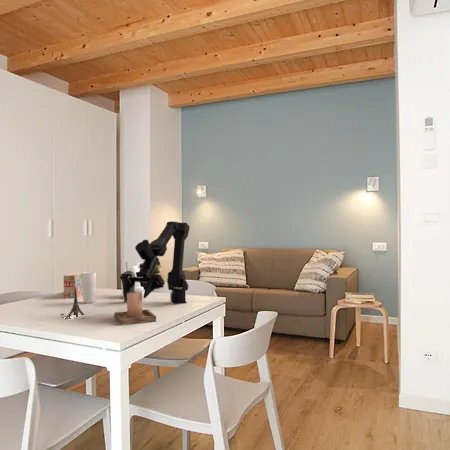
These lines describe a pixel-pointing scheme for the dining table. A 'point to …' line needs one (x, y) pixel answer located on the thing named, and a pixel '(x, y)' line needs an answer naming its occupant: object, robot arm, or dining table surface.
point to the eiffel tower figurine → (74, 308)
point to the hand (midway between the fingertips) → (134, 296)
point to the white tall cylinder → (88, 286)
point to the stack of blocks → (73, 285)
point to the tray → (123, 320)
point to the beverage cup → (132, 285)
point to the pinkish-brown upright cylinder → (134, 304)
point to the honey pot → (137, 284)
